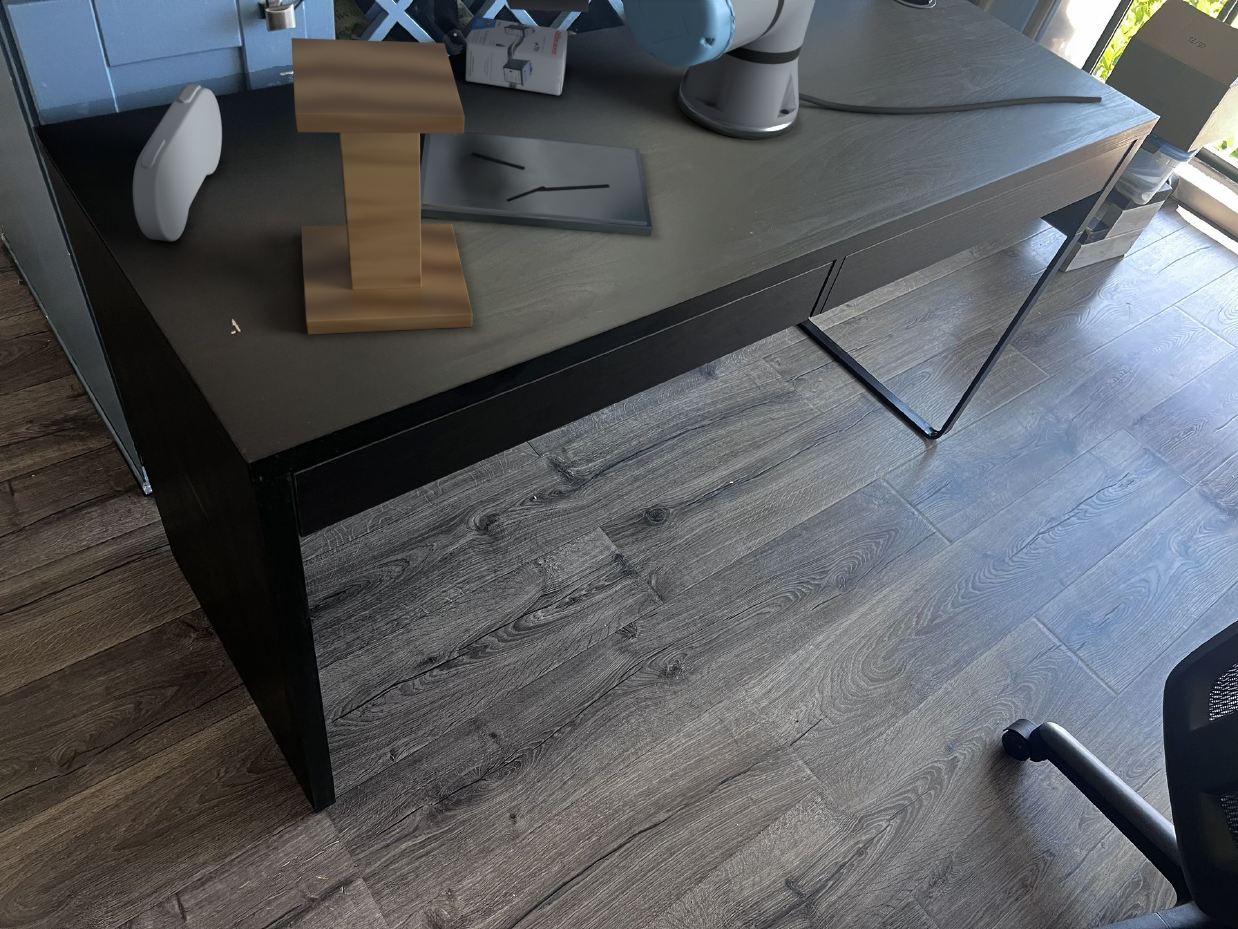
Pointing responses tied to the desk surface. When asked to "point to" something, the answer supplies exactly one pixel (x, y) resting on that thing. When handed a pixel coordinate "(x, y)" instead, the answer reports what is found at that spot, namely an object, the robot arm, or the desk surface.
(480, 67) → the ink box
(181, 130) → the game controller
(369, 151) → the shelf stand
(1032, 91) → the desk surface
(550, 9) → the eraser
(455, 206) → the whiteboard
